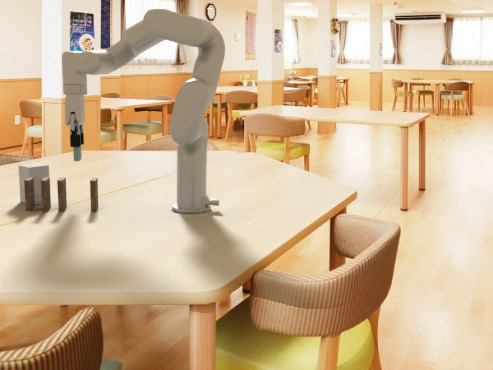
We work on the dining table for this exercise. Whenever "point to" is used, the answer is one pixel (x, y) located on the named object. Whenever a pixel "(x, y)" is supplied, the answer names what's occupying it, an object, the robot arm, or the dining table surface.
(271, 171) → the dining table surface
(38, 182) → the supplement box
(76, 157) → the domino
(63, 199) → the domino
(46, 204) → the domino
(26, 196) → the domino
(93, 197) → the domino
